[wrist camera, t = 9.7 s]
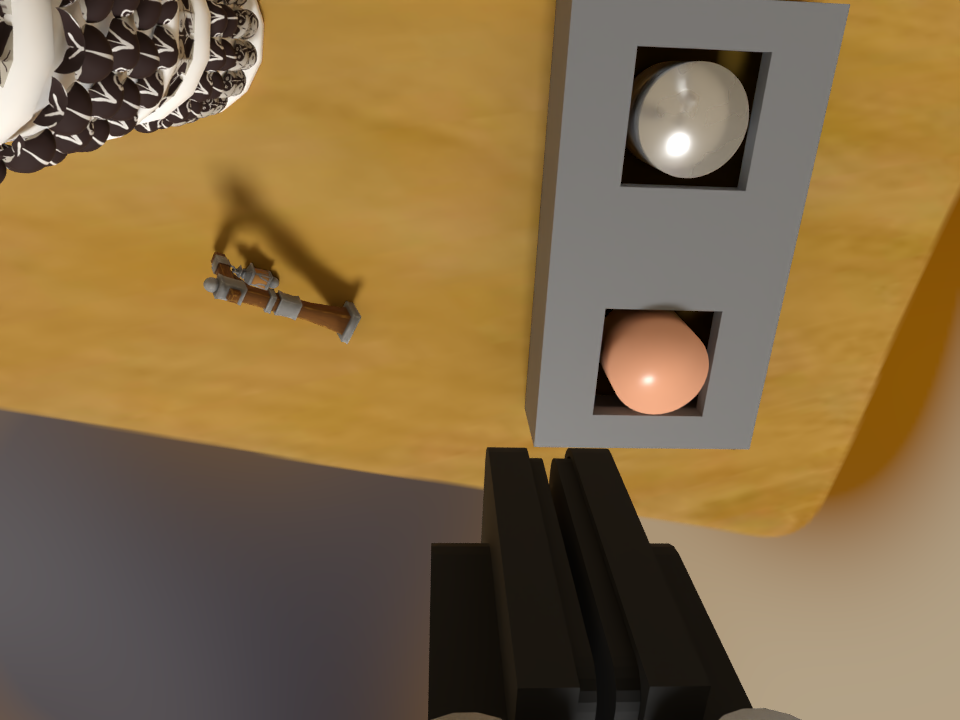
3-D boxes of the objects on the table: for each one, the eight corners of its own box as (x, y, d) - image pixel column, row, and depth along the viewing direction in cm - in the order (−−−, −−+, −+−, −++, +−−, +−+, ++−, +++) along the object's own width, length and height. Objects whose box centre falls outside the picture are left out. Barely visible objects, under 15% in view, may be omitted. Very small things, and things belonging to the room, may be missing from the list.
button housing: (556, -3, 33) (573, -11, 29) (800, 11, 34) (850, 4, 30) (524, 408, 42) (534, 446, 38) (719, 411, 43) (749, 449, 38)
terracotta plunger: (600, 298, 38) (617, 323, 34) (690, 300, 38) (716, 326, 35) (590, 381, 40) (606, 413, 36) (676, 382, 40) (699, 414, 37)
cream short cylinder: (625, 58, 34) (647, 58, 30) (725, 63, 34) (759, 64, 31) (612, 164, 36) (632, 176, 32) (707, 167, 36) (737, 179, 33)
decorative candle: (309, 79, 34) (39, 122, 11) (146, 157, 35) (-408, 346, 12) (207, -128, 30) (-497, -688, 8) (29, -33, 32) (-1061, -274, 9)
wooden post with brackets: (202, 235, 36) (212, 274, 33) (340, 281, 41) (362, 318, 37) (190, 265, 37) (199, 306, 33) (327, 307, 41) (348, 346, 38)
